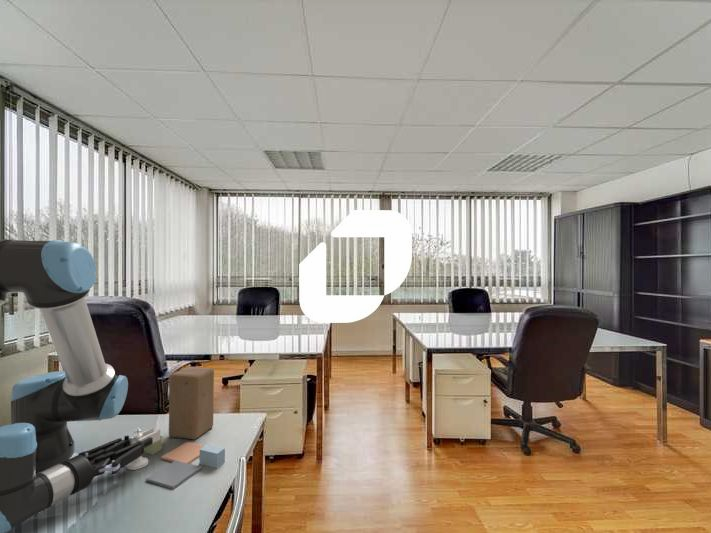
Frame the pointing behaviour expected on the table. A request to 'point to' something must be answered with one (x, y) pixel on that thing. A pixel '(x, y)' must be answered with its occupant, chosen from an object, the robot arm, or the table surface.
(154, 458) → the table surface
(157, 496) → the table surface
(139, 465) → the chess piece
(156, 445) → the brick olive
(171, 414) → the wooden block
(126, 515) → the table surface
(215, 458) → the brick blue
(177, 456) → the pad terracotta
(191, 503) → the table surface
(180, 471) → the pad slate
